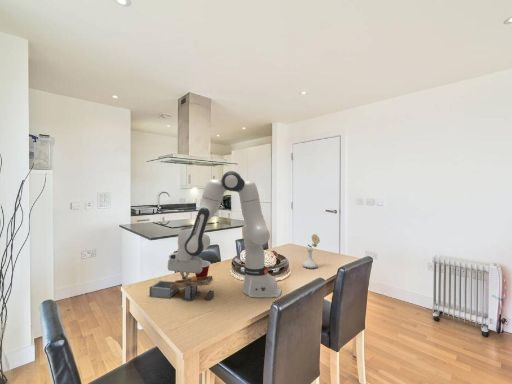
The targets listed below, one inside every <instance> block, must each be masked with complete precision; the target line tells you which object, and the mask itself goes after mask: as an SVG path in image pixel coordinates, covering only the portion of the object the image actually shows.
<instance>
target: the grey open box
mask: <svg viewBox="0 0 512 384" xmlns="http://www.w3.org/2000/svg"><path fill="white" fill-rule="evenodd" d="M172 284H175V281H168V280H159V281H157V282H156V283H154V284H152V285H151V286H149V297H151V298H153V297H154V298H162V299H171V298H173V296H175V295H176V294H177V293H178V292H180V288H177V289H171V288H170V286H169V285H172Z"/></svg>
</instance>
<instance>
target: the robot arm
mask: <svg viewBox="0 0 512 384" xmlns="http://www.w3.org/2000/svg"><path fill="white" fill-rule="evenodd" d="M227 191H229V192H236V193H238V196H239V201H240V208H241V215H242V217H243V220H244V222H245V224H244V225H243V226H242V229H241V232H242V238H243V244H244V245H243V246H244V255H245V259H244V263H245V265H244V269H243V274H244V275H243V276H244V281H243V284H242V285H243V286H242V288H241V291H242V293H243V294H245V295H247V296H248V297H249V298H272V297H276V298H279V297H280V296H281V294H282V289H281V287H280V286H278V282H277V279H276V278H275V277H274V276H272V275H271V274H270V273H269V269H268V268H269V267H268V266H265V251H264V247H263V245H266V244H267V243H268V242H269V240H270V238H271V237H270V236H271V234H270V231H269V229H268V227H267V225H266V220H265V218H264V215H263V212H262V205H261V202H260V201H261V199H260V194H259V191H258V187H257V185H256V183H255V181H253V180H247V179H246V180H244V179H243V177H242V176H241V175H240V173H239V172H237V171H236V170H229V171H227V172H225V173H224V174H223V175H222V177H221V178H220V179H217V178H212V179H210V180H208V181H207V183H206V185H205V187H204V189H203V193H202V196H201V199H200V204H199V208H198V211H197V215H196V218H195V220H194V224H193V227H192V226H188V227H187V226H186V227H183V228H180V229H179V230H178V234H177V246H178V247H177V251H176V252H173V253H171V254H169V255H168V262H167V271H171V272H179V274H180V276H181V280H183V279H188V278H189V275H190V274H195V273H198V274H199V273H201V272H202V260H203V258H202V257H201V256H199V255H200V254H202V253H203V252H204V251H205V250H207V248H209V247H210V245H211V239H210V236H209V235H207V234H206V233H205V231H206V228H207V225H208V222H209V221H210V220H211V219H212V218H213V216H215V214H217V213H218V211H219V209H220V208H221V204H222V199H223V196H224V194H225V193H226V192H227Z"/></svg>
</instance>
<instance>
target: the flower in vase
mask: <svg viewBox="0 0 512 384" xmlns="http://www.w3.org/2000/svg"><path fill="white" fill-rule="evenodd" d="M311 241H312V245H310V244H307V247H308V248H307V249H306V250H307V253H308V254H307V255H308V257H307V259H306V260H305V261H303V262H302V264H301V266H302V267H304V268H306V267H307V268H308V269H315V268H317V267H318V266H319V265H318V263H317V262H316V260H314V259H313V258H312V257H313V255H312V254H313V251H314V248H317V247H318V244H319V243H320V238H319V236H318V235H317V234H316V233H313V234H312V235H311ZM312 247H313V248H312Z"/></svg>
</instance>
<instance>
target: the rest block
mask: <svg viewBox="0 0 512 384" xmlns="http://www.w3.org/2000/svg"><path fill="white" fill-rule="evenodd" d="M214 292H215V291H214V290H211V289H209V290H208V291H207V292H206V293H205V300H206V301H211V300H212V299H213V298H214V295H215V293H214Z"/></svg>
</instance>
